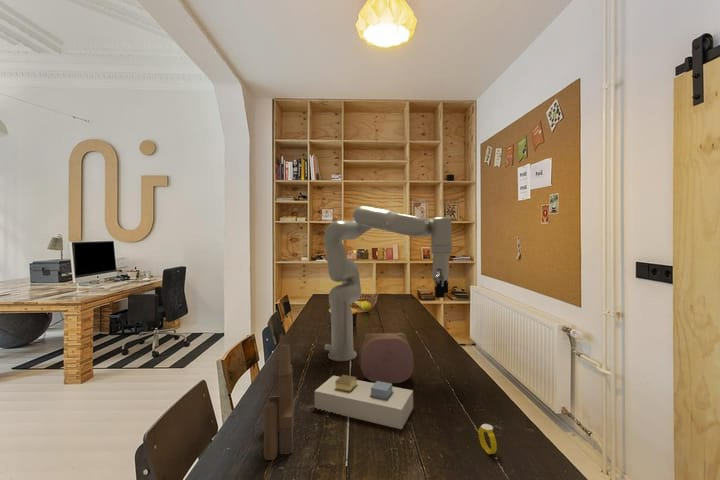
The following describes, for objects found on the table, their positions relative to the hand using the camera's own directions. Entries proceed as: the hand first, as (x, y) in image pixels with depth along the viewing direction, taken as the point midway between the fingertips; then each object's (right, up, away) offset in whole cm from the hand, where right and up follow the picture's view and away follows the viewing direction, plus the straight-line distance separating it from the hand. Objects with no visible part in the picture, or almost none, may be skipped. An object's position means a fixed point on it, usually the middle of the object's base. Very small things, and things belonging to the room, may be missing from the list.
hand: (441, 295), depth 124 cm
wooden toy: (-52, -32, -38) cm, 72 cm away
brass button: (-35, -26, -20) cm, 48 cm away
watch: (+1, -32, -43) cm, 53 cm away
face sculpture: (-21, -31, -3) cm, 38 cm away
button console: (-30, -31, -22) cm, 49 cm away
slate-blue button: (-24, -26, -25) cm, 43 cm away
